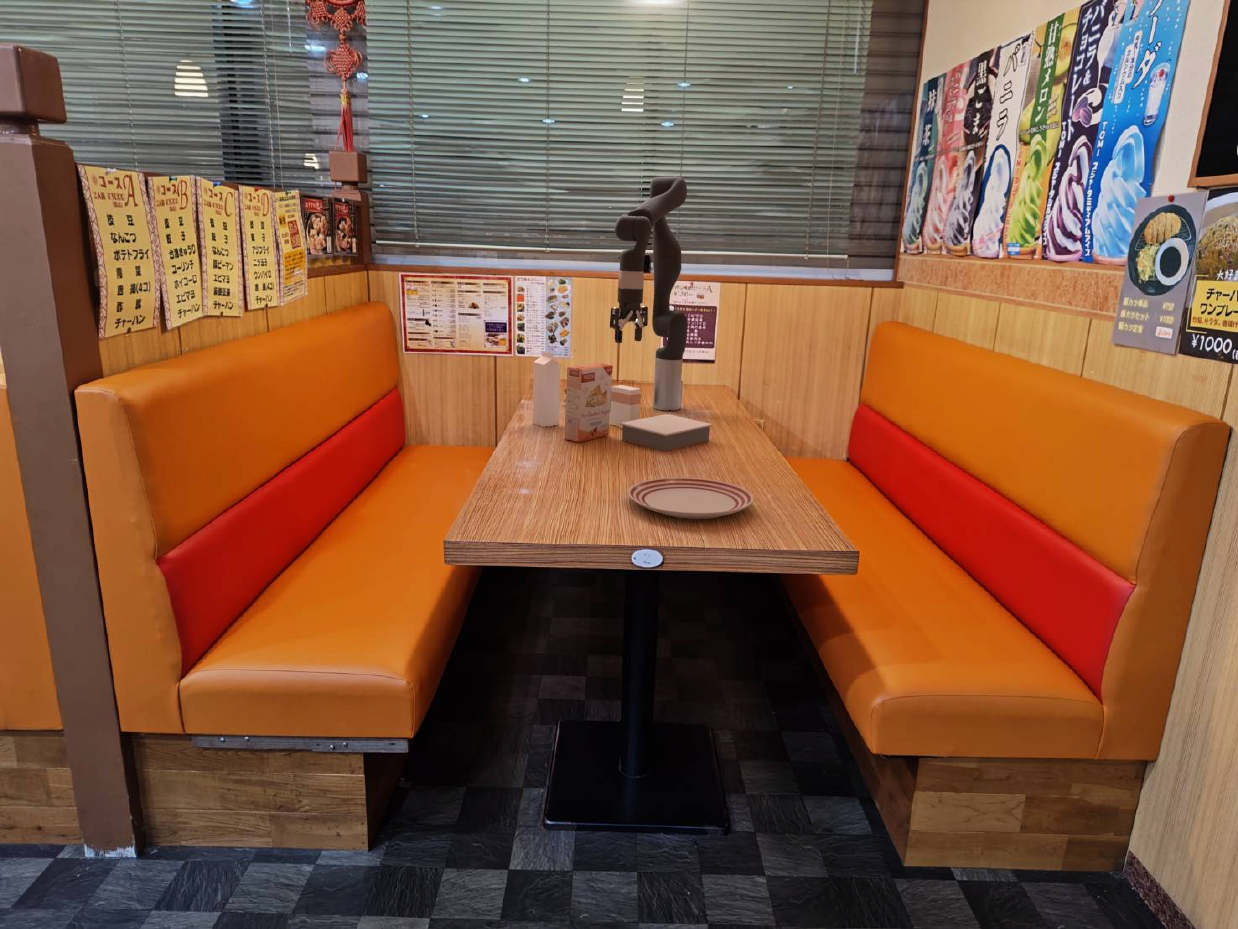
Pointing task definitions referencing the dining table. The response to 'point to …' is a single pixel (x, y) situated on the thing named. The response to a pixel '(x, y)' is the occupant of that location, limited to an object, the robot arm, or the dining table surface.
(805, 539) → the dining table surface
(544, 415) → the milk
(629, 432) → the plate
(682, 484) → the dinner plate
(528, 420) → the dining table surface
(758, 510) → the dining table surface
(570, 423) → the cracker box
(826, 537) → the dining table surface
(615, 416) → the cream carton
